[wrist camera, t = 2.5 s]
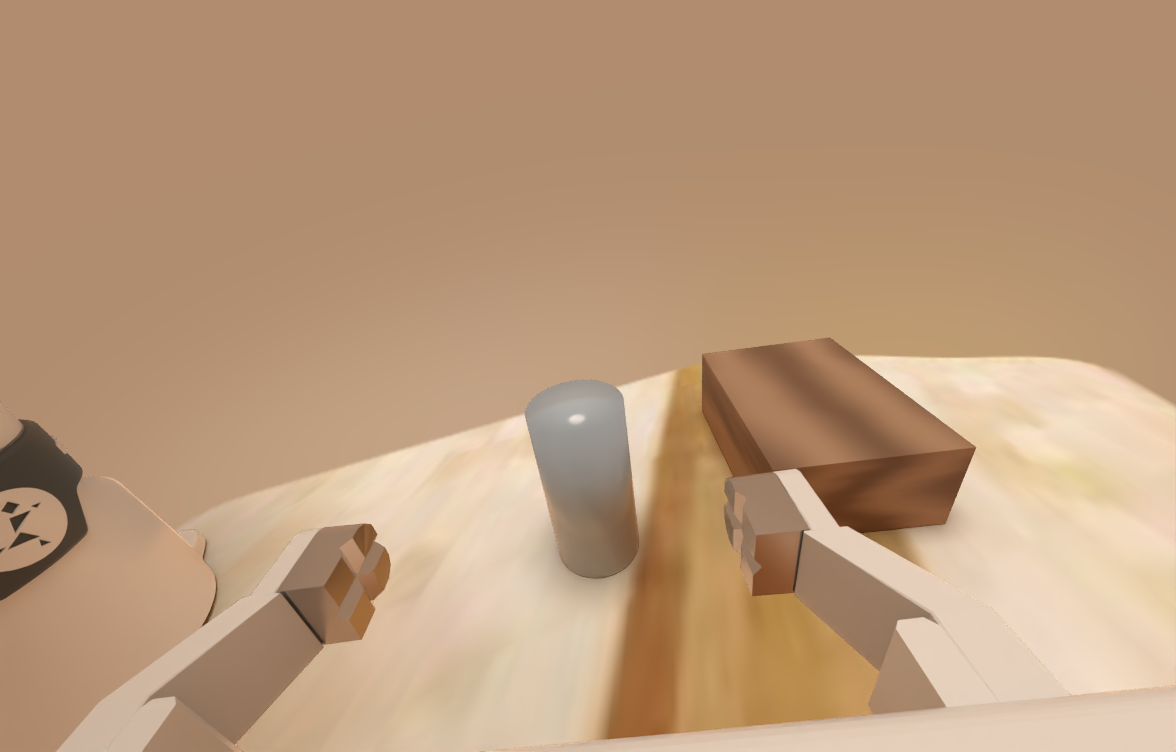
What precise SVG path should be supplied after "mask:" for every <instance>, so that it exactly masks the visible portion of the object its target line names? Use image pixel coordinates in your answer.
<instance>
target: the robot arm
mask: <svg viewBox="0 0 1176 752" xmlns="http://www.w3.org/2000/svg"><path fill="white" fill-rule="evenodd" d="M725 494H726V496H727V498H728V502H727V504H726V505H725V506H724V514H725V523H726V529H727V533H728V536H729V540H730V542H731V545H732V547H733V550H735V551H736V552H737V553H739V554H740V555H741V561H740V568H741V570H742V573H743V575H744V578H745V580H746V583H747V585H748V588H749V590H750V593H751V595H752V596H762V595H774V594H786V593H794V595H795V596H796V597H797V598H798V599H799V600H800V601H801V602H802V603H804V604H805V605H806V606H807V607H808V608H809V609H810V610H811V611H813V612H814V613H815V614H816V615H817V616H818V617H819V618H820V619H821V620H823V621H824V622H825V623H826V624H827V625H828V626H829V627H830V628H832V629H833V630H834V631H835V632H836V633H837V634H838V635H839V636H840V637H842V638H843V639H844V640H845V641H846V642H847V643H848V644H849V645H850V646H852V647H853V648H854V649H855V650H856V651H857V652H858V653H859V654H861V655H862V656H863V657H864V658H865V659H866V660H867V661H868V662H869V663H871V664H872V665H873V666H874V667H875V668H876V669H877V670H878V671H880V672H879V675H878V678H877V681H876V684H875V686H874V689H873V692H872V695H871V698H870V701H869V703H868V705H869V707H870V709H871V711H872V713H873V714H872V715H861V716H851V717H840V718H830V719H819V720H809V721H798V722H788V723H777V724H767V725H756V726H745V727H735V728H724V729H714V730H703V731H693V732H682V733H672V734H661V735H650V736H640V737H629V738H619V739H608V740H598V741H587V742H577V743H566V744H556V745H545V746H534V747H524V748H513V749H503V750H492V751H482V752H1176V686H1165V687H1155V688H1144V689H1134V690H1123V691H1113V692H1102V693H1092V694H1081V695H1071V694H1070V693H1069V692H1068V691H1067V690H1066V689H1065V688H1064V687H1063V686H1062V684H1061V683H1060V682H1059V681H1058V680H1057V679H1056V678H1055V677H1054V676H1053V675H1052V673H1051V672H1050V671H1049V670H1048V669H1047V668H1046V667H1045V666H1044V665H1043V664H1042V662H1041V661H1040V660H1039V659H1038V658H1037V657H1036V656H1035V655H1034V654H1033V653H1032V651H1031V650H1030V649H1029V648H1028V647H1027V646H1026V645H1025V644H1024V643H1023V642H1022V640H1021V639H1020V638H1019V637H1018V636H1017V635H1016V634H1015V633H1014V632H1013V631H1012V629H1011V628H1010V627H1009V626H1008V625H1007V624H1006V623H1005V622H1004V621H1003V620H1002V618H1001V617H1000V616H999V615H998V614H997V613H996V612H995V611H994V610H993V609H992V608H991V607H989V606H987V605H986V604H984V603H982V602H980V601H979V600H977V599H975V598H973V597H971V596H970V595H968V594H966V593H964V592H963V591H961V590H959V589H957V588H956V587H954V586H952V585H950V584H948V583H947V582H945V581H943V580H941V579H940V578H938V577H936V576H934V575H933V574H931V573H929V572H927V571H926V570H924V569H922V568H920V567H918V566H917V565H915V564H913V563H911V562H910V561H908V560H906V559H904V558H903V557H901V556H899V555H897V554H895V553H894V552H892V551H890V550H888V549H887V548H885V547H883V546H881V545H880V544H878V543H876V542H874V541H872V540H871V539H869V538H867V537H865V536H864V535H862V534H860V533H858V532H857V531H855V530H853V529H851V528H850V527H848V526H844V527H839V525H838V524H837V523H836V521H835V520H834V518H833V517H832V515H831V514H830V513H829V511H828V510H827V508H826V507H825V506H824V504H823V503H822V501H821V500H820V499H819V497H818V496H817V494H816V493H815V492H814V490H813V489H812V487H811V486H810V485H809V483H808V482H807V480H806V479H805V478H804V476H803V475H802V473H801V472H800V471H799V470H797V469H790V470H782V471H775V472H772V473H771V472H768V473H761V474H753V475H746V476H739V477H731V478H726V481H725ZM376 537H377V533H376V531H375V530H374V528H373V526H372V525H371V524H355V525H345V526H335V527H325V528H319V529H309V530H303V531H301V532H299V533H298V534H296V535H295V536H294V538H293V539H292V540H291V542H290V543H289V544H288V546H287V547H286V548H285V550H284V551H283V552H282V554H281V555H280V556H279V558H278V559H277V560H276V562H275V563H274V564H273V566H272V567H271V568H270V570H269V571H268V572H267V574H266V575H265V576H264V578H263V579H262V580H261V582H260V583H259V584H258V586H257V587H256V588H255V590H254V591H253V592H252V594H251V595H250V596H247V597H242V598H241V599H240V600H238V601H237V602H235V603H234V604H233V605H231V606H230V607H229V608H227V609H226V610H225V611H223V612H222V613H220V614H219V615H218V616H216V617H215V618H214V619H212V620H211V621H209V622H208V623H207V624H205V625H204V626H203V627H202V625H203V623H204V621H205V619H206V617H207V615H208V613H209V611H210V609H211V606H212V604H213V600H214V597H215V592H216V580H215V576H214V573H213V572H212V570H211V569H210V568H209V567H208V566H207V565H206V564H205V562H204V561H203V554H204V549H205V543H206V541H205V538H204V537H203V536H202V535H201V534H200V533H198V532H197V531H196V530H186V531H181V532H176V531H175V530H174V529H172V528H171V527H170V526H169V525H168V524H167V523H166V522H165V521H163V520H162V519H161V518H160V517H159V516H158V515H157V514H156V513H154V512H153V511H152V510H151V509H150V508H149V507H148V506H146V505H145V504H144V503H143V502H142V501H141V500H140V499H138V498H137V497H136V496H135V495H134V494H133V493H131V492H130V491H129V490H128V489H127V488H126V487H125V486H123V485H122V484H121V483H120V482H118V481H117V480H115V479H113V478H110V477H82V468H81V467H80V466H79V465H78V464H77V463H76V462H75V460H74V459H73V458H72V457H71V456H70V455H69V454H68V452H67V450H66V447H65V446H64V445H63V444H61V442H60V441H59V440H58V439H57V438H54V437H53V436H50V435H48V433H46V432H45V431H44V430H43V429H42V428H41V427H40V426H39V425H38V424H37V423H35V422H34V421H30V420H20V419H17V418H16V417H15V416H14V415H13V414H12V413H11V412H10V411H9V410H8V409H7V407H5V405H4V404H3V403H2V402H1V401H0V752H243V751H241V750H240V749H239V748H238V747H237V746H235V744H236V743H237V741H238V740H239V739H240V738H241V737H242V736H243V735H244V734H245V733H246V732H247V731H248V729H249V728H250V727H251V726H252V725H253V724H254V723H255V722H256V721H257V720H258V718H259V717H260V716H261V715H262V714H263V713H264V712H265V711H266V710H267V709H268V708H269V706H270V705H271V704H272V703H273V702H274V701H275V700H276V699H277V698H278V697H279V696H280V694H281V693H282V692H283V691H284V690H285V689H286V688H287V687H288V686H289V685H290V683H291V682H292V681H293V680H294V679H295V678H296V677H297V676H298V675H299V674H300V673H301V671H302V670H303V669H304V668H305V667H306V666H307V665H308V664H309V663H310V662H311V661H312V659H313V658H314V657H315V656H316V655H317V654H318V653H319V652H320V651H321V650H322V648H323V647H324V646H323V645H326V644H333V643H340V642H347V641H354V640H361V639H362V638H363V636H364V633H365V631H366V629H367V627H368V624H369V622H370V620H371V618H372V616H373V613H374V611H375V606H374V602H373V600H374V599H375V598H376V597H377V596H378V595H379V594H380V593H381V592H382V591H383V590H384V588H385V586H386V584H387V581H388V579H389V573H390V565H391V564H390V559H389V554H388V552H387V551H386V549H385V547H383V546H382V545H380V544H378V543H376V542H375V539H376Z"/></svg>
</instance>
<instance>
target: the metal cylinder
mask: <svg viewBox="0 0 1176 752" xmlns="http://www.w3.org/2000/svg"><path fill="white" fill-rule="evenodd" d="M525 418H526V422H527V426H528V430H529V434H530V438H531V442H532V446H533V450H534V454H535V458H536V462H537V465H538V469H539V473H540V477H541V481H542V485H543V489H544V493H545V497H546V501H547V505H548V509H549V513H550V517H551V521H552V525H553V529H554V533H555V537H556V541H557V545H558V549H559V553H560V556H561V559H562V561H563V562H564V564H565V565H566V566H567V567H568V568H569V569H570V570H571V571H573V572H574V573H576V574H578V575H581V576H584V577H588V578H603V577H608V576H611V575H614V574H616V573H618V572H620V571H621V570H623V569H624V568H625V567H627V566H628V565H629V564H630V563H631V561H632V560H633V559H634V557H635V555H636V553H637V550H638V546H639V536H638V527H637V518H636V509H635V499H634V490H633V481H632V472H631V463H630V454H629V445H628V436H627V427H626V417H625V408H624V399H623V396H622V394H621V392H620V391H619V390H618V389H617V388H616V387H614V386H612V385H610V384H608V383H605V382H601V381H596V380H575V381H569V382H564V383H560V384H557V385H555V386H552V387H550V388H547V389H545V390H544V391H542V392H540V393H539V394H537V395H536V396H535V397H534V398H533V399H532V400H531V401H530V402H529V404H528V405H527V407H526V411H525Z"/></svg>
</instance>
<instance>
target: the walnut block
mask: <svg viewBox="0 0 1176 752" xmlns="http://www.w3.org/2000/svg"><path fill="white" fill-rule="evenodd" d="M702 411H703V413H704V415H705V417H706V419H707V422H708V424H709V426H710V428H711V430H712V432H713V434H714V436H715V438H716V440H717V443H718V445H719V447H720V449H721V451H722V453H723V455H724V457H725V459H726V461H727V464H728V466H729V468H730V470H731V472H732V474H733V476H734V477H739V476H746V475H753V474H761V473H768V472H771V473H772V472H775V471H782V470H790V469H797V470H799V471H800V472H801V473H802V475H803V476H804V478H805V479H806V480H807V482H808V483H809V485H810V486H811V487H812V489H813V490H814V492H815V493H816V494H817V496H818V497H819V499H820V500H821V501H822V503H823V504H824V506H825V507H826V508H827V510H828V511H829V513H830V514H831V515H832V517H833V518H834V520H835V521H836V523H837V524H838V525H839V527H844V526H848V527H850V528H851V529H853V530H855V531H857V532H858V533H862V532H871V531H881V530H890V529H899V528H909V527H918V526H928V525H937V524H945V523H946V520H947V518H948V515H949V513H950V511H951V508H952V506H953V503H954V501H955V498H956V496H957V493H958V491H959V488H960V486H961V484H962V481H963V479H964V476H965V474H966V471H967V469H968V466H969V464H970V461H971V459H972V456H973V454H974V452H975V449H976V447H975V446H974V445H972V444H971V443H970V442H968V441H967V440H966V439H964V438H963V437H962V436H960V435H959V434H958V433H956V432H955V431H954V430H952V429H951V428H950V427H948V426H947V425H946V424H944V423H943V422H942V421H940V420H939V419H938V418H936V417H935V416H934V415H932V414H931V413H930V412H928V411H927V410H926V409H924V408H923V407H922V406H920V405H919V404H918V403H916V402H915V401H914V400H912V399H911V398H910V397H908V396H907V395H906V394H904V393H903V392H902V391H900V390H899V389H898V388H896V387H895V386H894V385H892V384H891V383H890V382H888V381H887V380H886V379H884V378H883V377H882V376H880V375H879V374H878V373H876V372H875V371H874V370H872V369H871V368H870V367H868V366H867V365H866V364H864V363H863V362H862V361H860V360H859V359H858V358H856V357H855V356H854V355H852V354H851V353H850V352H848V351H847V350H845V349H844V348H843V347H842V346H840V345H839V344H838V343H836V342H835V341H834V340H832V339H831V338H824V339H816V340H808V341H801V342H792V343H785V344H776V345H769V346H761V347H753V348H745V349H737V350H730V351H722V352H714V353H707V354H702Z"/></svg>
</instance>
